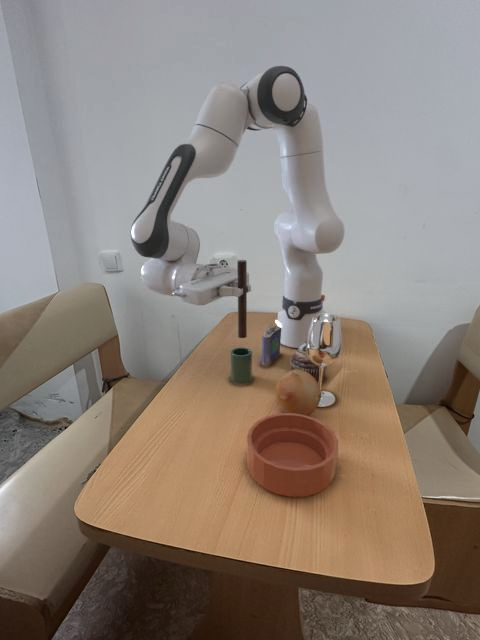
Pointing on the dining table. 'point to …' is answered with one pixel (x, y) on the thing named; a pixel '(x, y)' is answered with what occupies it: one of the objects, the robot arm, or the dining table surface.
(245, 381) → the holder
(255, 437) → the bowl
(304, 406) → the onion
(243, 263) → the stick
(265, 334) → the blue box
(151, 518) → the dining table surface
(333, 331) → the wineglass
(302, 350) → the cupcake
